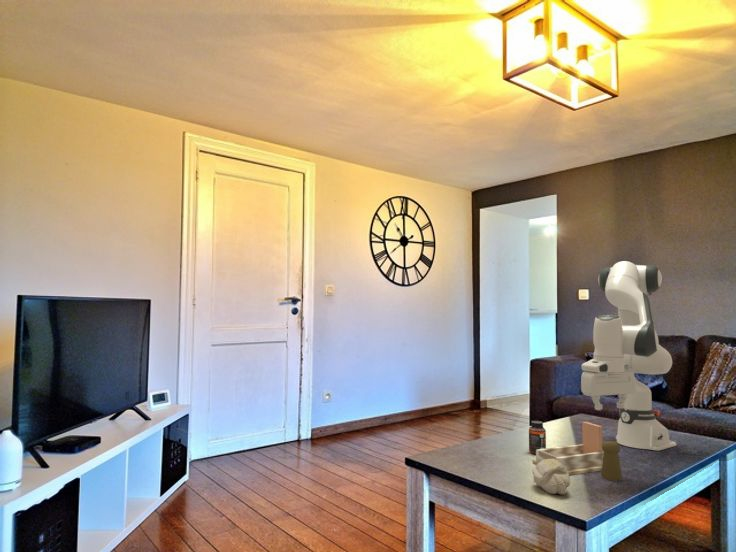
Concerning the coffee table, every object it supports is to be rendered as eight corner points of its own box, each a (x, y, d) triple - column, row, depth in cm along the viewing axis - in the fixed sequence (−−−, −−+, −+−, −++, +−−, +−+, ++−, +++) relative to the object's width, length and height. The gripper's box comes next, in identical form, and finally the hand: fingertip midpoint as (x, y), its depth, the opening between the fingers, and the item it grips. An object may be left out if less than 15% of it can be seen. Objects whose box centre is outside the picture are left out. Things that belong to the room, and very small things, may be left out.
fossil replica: (555, 501, 132) (579, 497, 137) (559, 470, 132) (582, 468, 137) (522, 483, 143) (544, 480, 147) (525, 455, 143) (547, 453, 148)
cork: (597, 474, 154) (596, 439, 155) (615, 474, 154) (614, 439, 155) (607, 480, 148) (606, 444, 149) (626, 480, 148) (625, 444, 149)
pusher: (586, 456, 169) (585, 421, 170) (603, 462, 162) (602, 426, 163) (582, 456, 168) (582, 422, 169) (599, 462, 162) (598, 426, 163)
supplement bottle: (547, 456, 173) (546, 424, 174) (530, 454, 174) (529, 423, 175) (544, 451, 179) (544, 420, 180) (528, 450, 180) (527, 419, 181)
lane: (585, 456, 173) (585, 442, 174) (618, 468, 160) (618, 452, 161) (532, 463, 164) (532, 448, 165) (562, 476, 151) (562, 460, 152)
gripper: (623, 363, 160) (625, 405, 159) (577, 365, 153) (578, 408, 152) (640, 365, 155) (642, 409, 153) (593, 367, 147) (594, 412, 146)
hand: (609, 409), depth 153 cm, fingers open, 8 cm apart
